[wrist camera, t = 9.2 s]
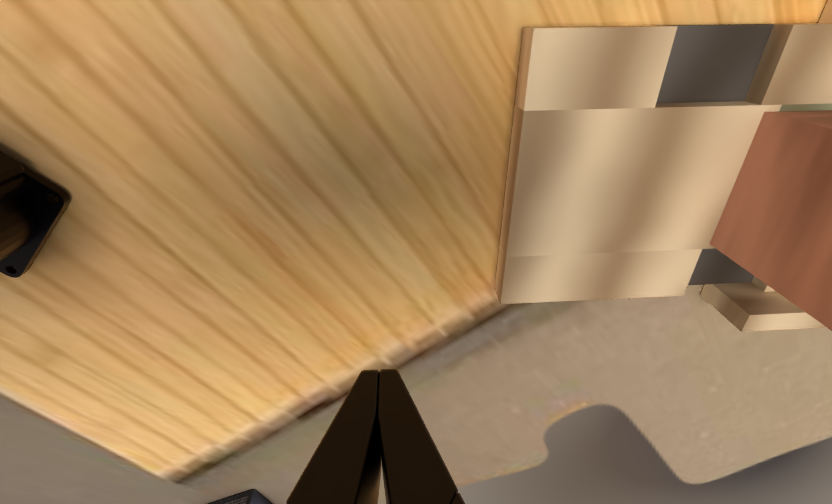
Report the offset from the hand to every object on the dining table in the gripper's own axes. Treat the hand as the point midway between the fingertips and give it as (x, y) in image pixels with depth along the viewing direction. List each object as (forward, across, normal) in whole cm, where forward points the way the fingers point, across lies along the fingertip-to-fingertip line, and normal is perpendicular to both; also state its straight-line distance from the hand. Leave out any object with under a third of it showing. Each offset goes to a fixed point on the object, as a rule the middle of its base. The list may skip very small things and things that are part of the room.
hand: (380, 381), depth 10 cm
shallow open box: (+13, -18, 0) cm, 23 cm away
